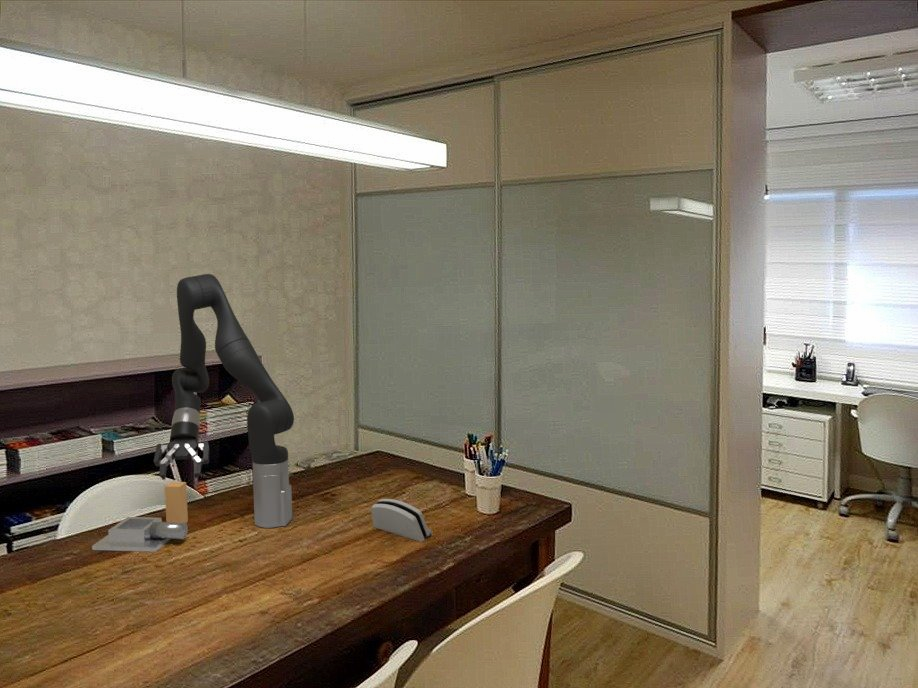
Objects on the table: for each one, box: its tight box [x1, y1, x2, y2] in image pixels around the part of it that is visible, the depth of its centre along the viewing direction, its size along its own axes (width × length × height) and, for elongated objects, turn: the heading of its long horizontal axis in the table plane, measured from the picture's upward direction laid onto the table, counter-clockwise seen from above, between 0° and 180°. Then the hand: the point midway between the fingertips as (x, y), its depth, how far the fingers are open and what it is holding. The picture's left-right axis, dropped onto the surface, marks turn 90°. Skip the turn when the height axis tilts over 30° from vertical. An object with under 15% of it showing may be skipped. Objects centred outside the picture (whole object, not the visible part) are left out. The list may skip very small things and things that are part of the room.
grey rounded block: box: [370, 498, 434, 542], centre depth 184 cm, size 17×5×10 cm, turn 53°
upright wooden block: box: [164, 481, 189, 524], centre depth 190 cm, size 4×4×11 cm
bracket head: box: [91, 516, 189, 553], centre depth 179 cm, size 20×12×5 cm, turn 86°
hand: (179, 477), depth 195 cm, fingers open, 8 cm apart
